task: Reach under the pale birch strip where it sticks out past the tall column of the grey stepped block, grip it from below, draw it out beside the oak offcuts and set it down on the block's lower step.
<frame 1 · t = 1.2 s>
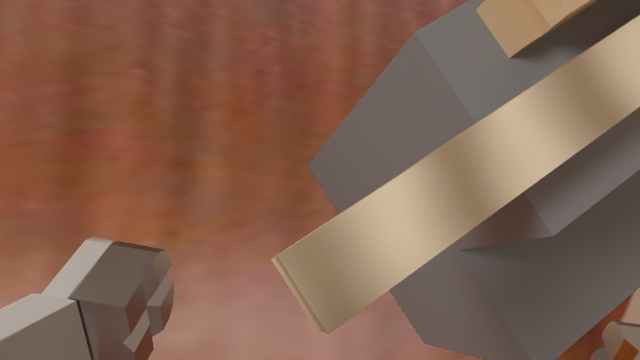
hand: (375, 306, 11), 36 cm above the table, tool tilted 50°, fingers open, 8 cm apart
birch strip: (549, 117, 24), point 26 cm above the table, touching grey stepped block
grey stepped block: (437, 203, 50), on the table
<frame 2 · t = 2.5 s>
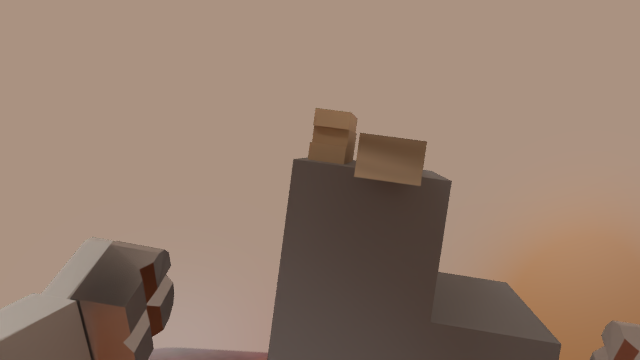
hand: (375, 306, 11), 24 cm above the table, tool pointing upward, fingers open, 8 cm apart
birch strip: (387, 170, 38), point 26 cm above the table, touching grey stepped block
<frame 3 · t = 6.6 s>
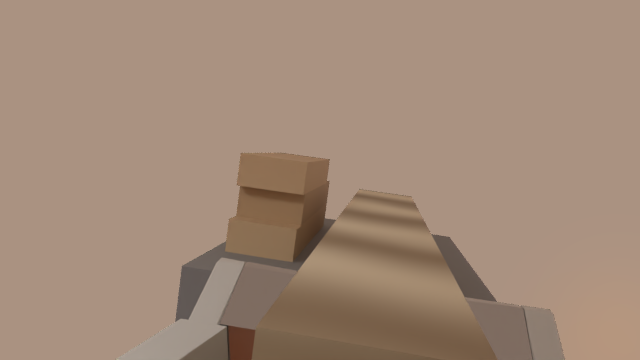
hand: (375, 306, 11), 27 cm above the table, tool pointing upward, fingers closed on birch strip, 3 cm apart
birch strip: (375, 275, 20), point 26 cm above the table, touching gripper, grey stepped block
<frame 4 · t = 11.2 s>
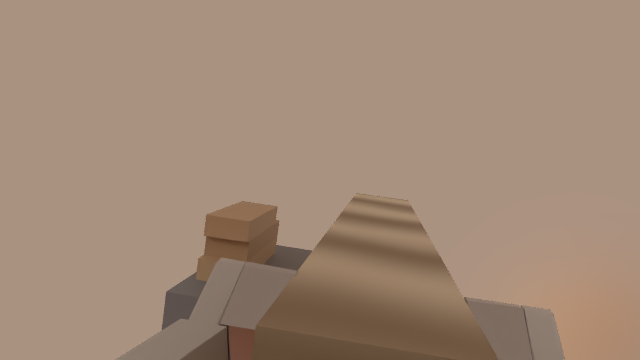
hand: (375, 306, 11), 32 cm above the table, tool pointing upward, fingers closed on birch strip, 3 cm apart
birch strip: (373, 278, 20), point 30 cm above the table, touching gripper
when the fingers open (20 cm above the table, at t = 15.5 s): birch strip drops 1 cm, resting on grey stepped block.
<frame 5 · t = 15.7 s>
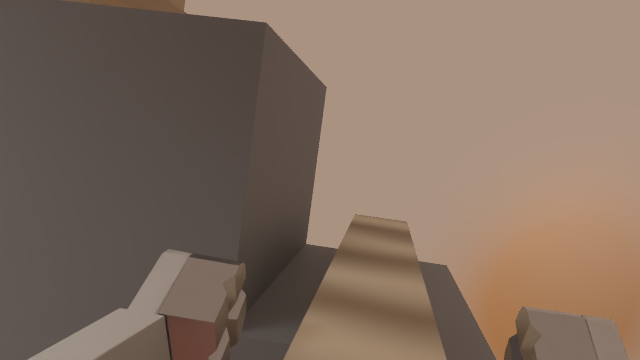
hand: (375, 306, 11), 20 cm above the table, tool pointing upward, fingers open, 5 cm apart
birch strip: (369, 317, 20), point 17 cm above the table, touching grey stepped block
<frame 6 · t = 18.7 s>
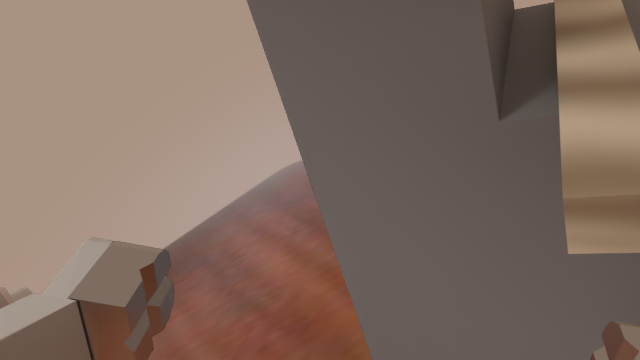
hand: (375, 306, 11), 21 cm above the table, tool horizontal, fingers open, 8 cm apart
birch strip: (594, 72, 26), point 17 cm above the table, touching grey stepped block
grey stepped block: (524, 284, 39), on the table
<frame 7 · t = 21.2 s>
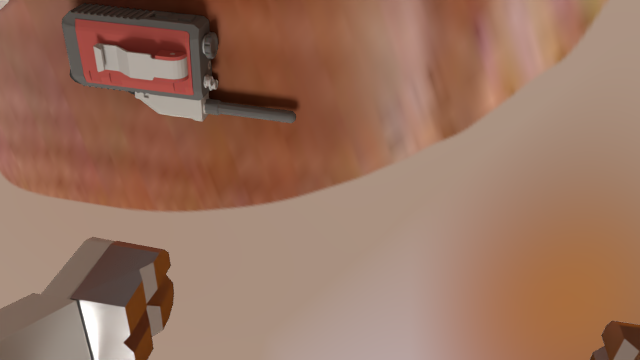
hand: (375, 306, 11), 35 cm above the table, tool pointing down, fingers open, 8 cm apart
walkie-talkie: (186, 60, 48), on the table
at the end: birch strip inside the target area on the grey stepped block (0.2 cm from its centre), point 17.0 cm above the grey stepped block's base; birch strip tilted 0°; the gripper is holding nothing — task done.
